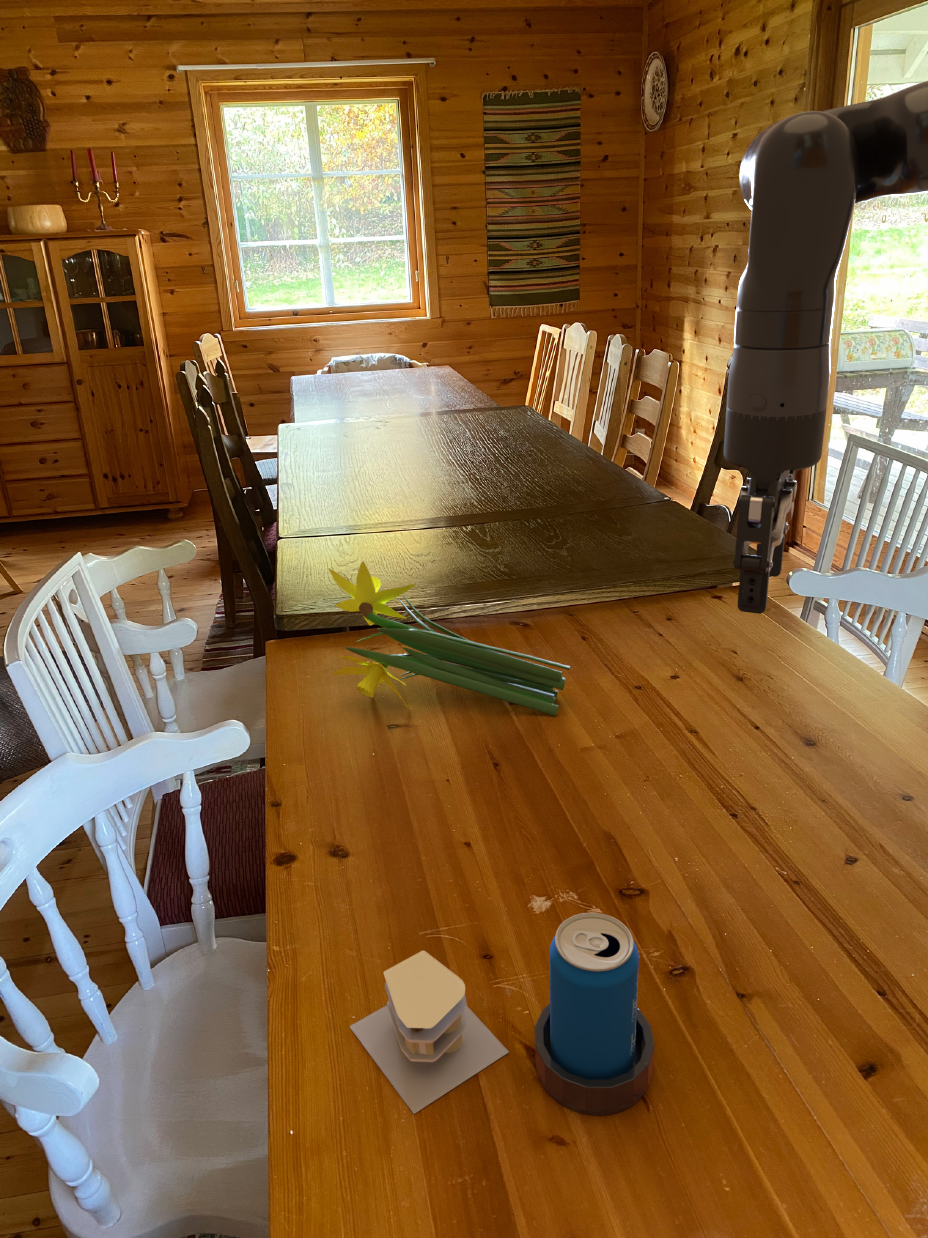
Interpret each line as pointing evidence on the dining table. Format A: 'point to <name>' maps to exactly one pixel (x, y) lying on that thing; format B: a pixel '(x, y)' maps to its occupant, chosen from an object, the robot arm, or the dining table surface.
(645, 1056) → the bowl
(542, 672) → the daffodil flowers
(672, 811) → the dining table surface
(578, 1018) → the beverage can
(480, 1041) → the stacked layers on plate
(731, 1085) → the dining table surface
